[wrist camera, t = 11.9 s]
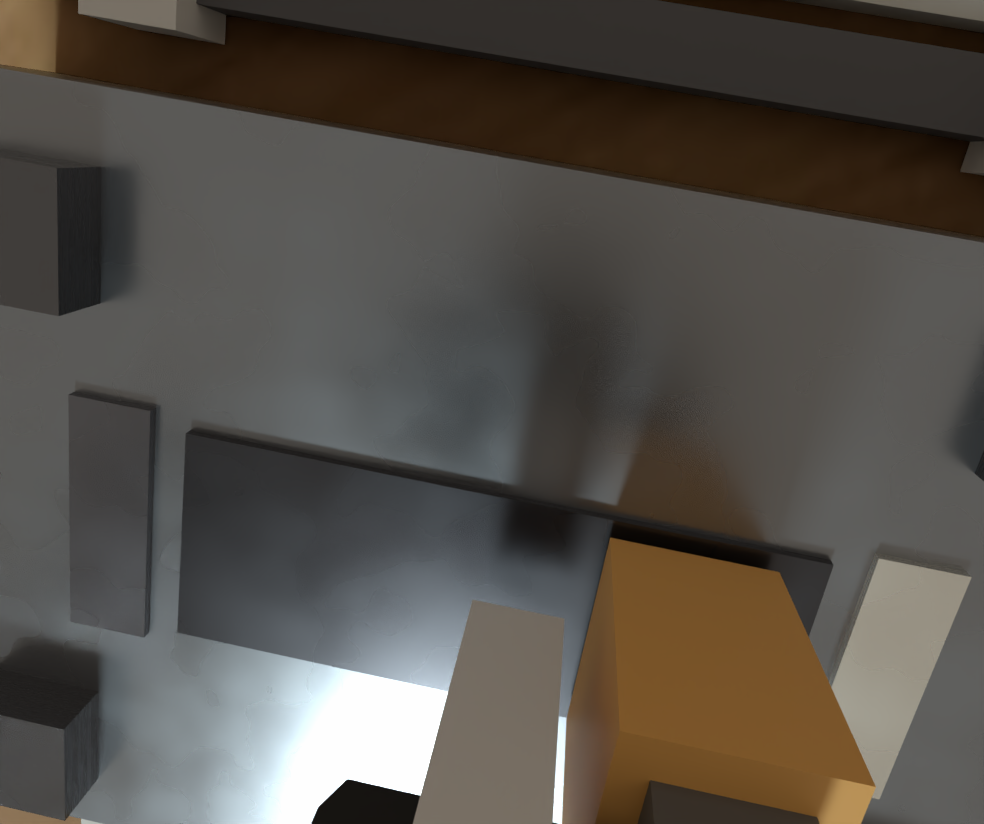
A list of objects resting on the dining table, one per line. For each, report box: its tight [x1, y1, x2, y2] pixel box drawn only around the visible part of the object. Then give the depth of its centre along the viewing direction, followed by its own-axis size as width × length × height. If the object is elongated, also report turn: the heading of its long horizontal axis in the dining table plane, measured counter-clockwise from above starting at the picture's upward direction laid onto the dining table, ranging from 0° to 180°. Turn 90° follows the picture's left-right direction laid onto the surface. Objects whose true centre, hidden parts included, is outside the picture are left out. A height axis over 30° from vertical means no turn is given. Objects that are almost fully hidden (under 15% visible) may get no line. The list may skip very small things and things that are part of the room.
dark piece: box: [78, 0, 984, 824], centre depth 19 cm, size 24×26×2 cm
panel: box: [0, 64, 984, 824], centre depth 17 cm, size 24×16×6 cm, turn 80°
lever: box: [562, 538, 876, 824], centre depth 12 cm, size 3×4×6 cm
